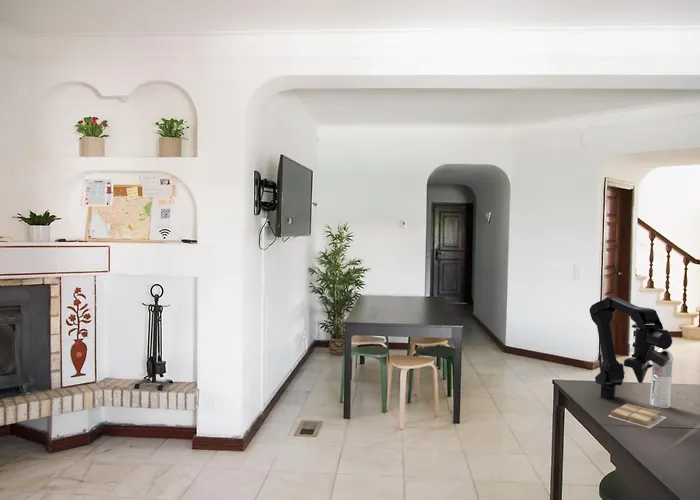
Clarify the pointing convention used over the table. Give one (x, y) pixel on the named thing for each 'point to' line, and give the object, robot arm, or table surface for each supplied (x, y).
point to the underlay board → (648, 424)
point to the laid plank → (625, 411)
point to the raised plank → (644, 416)
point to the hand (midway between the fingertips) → (640, 382)
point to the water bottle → (661, 383)
